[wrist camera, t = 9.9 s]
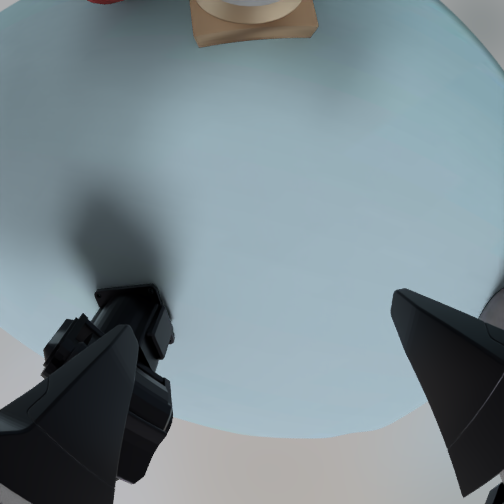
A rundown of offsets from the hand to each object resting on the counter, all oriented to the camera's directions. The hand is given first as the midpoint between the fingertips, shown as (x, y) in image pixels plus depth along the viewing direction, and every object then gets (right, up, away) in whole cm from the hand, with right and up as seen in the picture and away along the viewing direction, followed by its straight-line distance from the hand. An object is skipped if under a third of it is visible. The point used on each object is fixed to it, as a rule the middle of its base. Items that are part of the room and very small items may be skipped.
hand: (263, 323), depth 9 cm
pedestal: (-1, +21, +5) cm, 21 cm away
